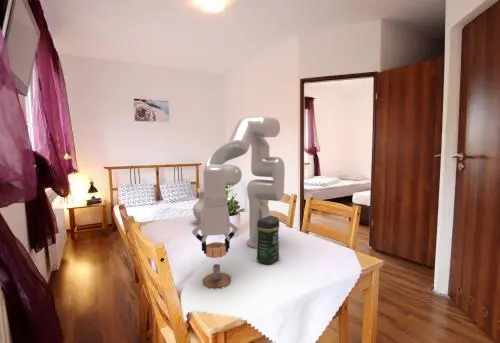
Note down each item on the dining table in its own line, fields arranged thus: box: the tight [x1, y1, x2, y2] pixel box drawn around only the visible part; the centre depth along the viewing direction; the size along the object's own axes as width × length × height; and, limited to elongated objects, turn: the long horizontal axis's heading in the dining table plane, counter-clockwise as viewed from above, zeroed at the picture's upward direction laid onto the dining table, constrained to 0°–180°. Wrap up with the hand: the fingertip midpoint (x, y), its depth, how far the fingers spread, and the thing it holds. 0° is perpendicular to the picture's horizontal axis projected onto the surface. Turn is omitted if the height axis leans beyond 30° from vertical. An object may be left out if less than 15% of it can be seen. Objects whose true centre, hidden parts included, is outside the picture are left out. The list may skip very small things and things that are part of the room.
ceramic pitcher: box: [192, 183, 204, 222], centre depth 170 cm, size 22×20×25 cm
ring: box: [205, 241, 227, 259], centre depth 100 cm, size 7×7×3 cm
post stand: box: [202, 263, 232, 290], centre depth 101 cm, size 10×10×6 cm
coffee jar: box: [256, 215, 280, 265], centre depth 118 cm, size 10×8×19 cm
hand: (215, 251), depth 100 cm, fingers closed on ring, 7 cm apart
